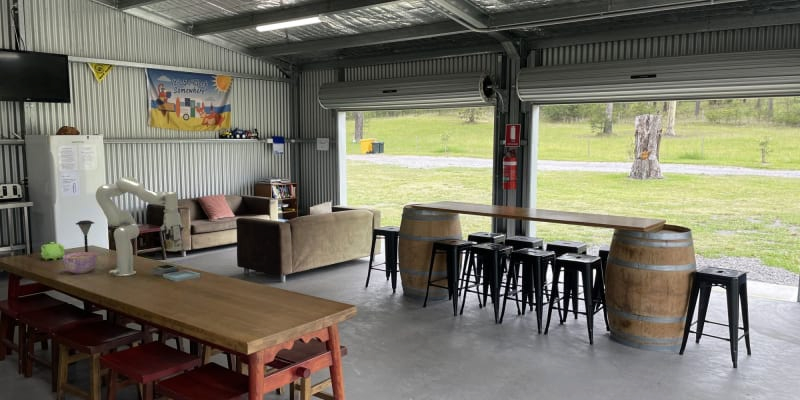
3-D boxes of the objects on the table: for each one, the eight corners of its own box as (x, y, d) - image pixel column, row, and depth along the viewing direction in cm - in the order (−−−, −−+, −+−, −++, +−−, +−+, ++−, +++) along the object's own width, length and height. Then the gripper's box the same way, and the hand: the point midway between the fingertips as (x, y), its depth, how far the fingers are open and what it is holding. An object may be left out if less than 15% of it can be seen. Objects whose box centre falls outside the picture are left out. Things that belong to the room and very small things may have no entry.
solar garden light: (93, 260, 412) (91, 219, 409) (99, 262, 404) (97, 221, 401) (74, 262, 403) (72, 220, 401) (80, 265, 395) (78, 222, 392)
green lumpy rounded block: (66, 259, 414) (65, 242, 412) (43, 262, 405) (42, 244, 404) (63, 256, 426) (62, 239, 425) (40, 258, 417) (40, 241, 416)
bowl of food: (67, 277, 358) (66, 259, 357) (60, 272, 373) (59, 254, 372) (101, 272, 371) (100, 255, 370) (93, 267, 386) (93, 251, 385)
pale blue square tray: (176, 282, 347) (176, 278, 347) (163, 278, 357) (162, 274, 357) (200, 277, 359) (199, 273, 359) (186, 273, 369) (186, 270, 369)
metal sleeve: (164, 277, 360) (163, 269, 359) (153, 274, 368) (153, 266, 368) (178, 274, 368) (178, 266, 367) (168, 271, 376) (168, 264, 375)
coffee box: (183, 249, 362) (181, 224, 361) (175, 251, 357) (172, 226, 355) (173, 248, 367) (170, 224, 365) (165, 250, 361) (162, 225, 359)
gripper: (161, 212, 350) (163, 241, 351) (187, 210, 363) (188, 237, 365) (155, 212, 354) (157, 240, 356) (181, 209, 368) (182, 236, 370)
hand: (173, 238), depth 361 cm, fingers closed on coffee box, 7 cm apart
